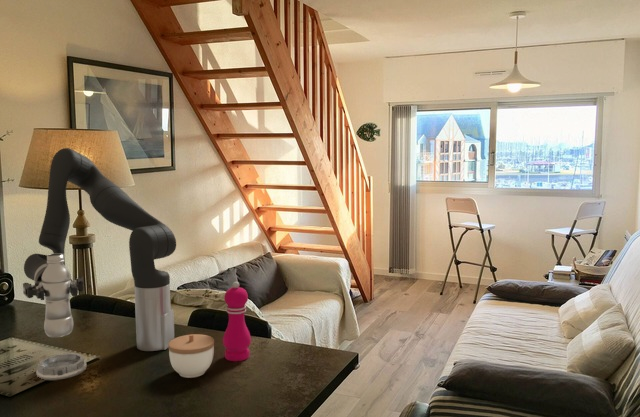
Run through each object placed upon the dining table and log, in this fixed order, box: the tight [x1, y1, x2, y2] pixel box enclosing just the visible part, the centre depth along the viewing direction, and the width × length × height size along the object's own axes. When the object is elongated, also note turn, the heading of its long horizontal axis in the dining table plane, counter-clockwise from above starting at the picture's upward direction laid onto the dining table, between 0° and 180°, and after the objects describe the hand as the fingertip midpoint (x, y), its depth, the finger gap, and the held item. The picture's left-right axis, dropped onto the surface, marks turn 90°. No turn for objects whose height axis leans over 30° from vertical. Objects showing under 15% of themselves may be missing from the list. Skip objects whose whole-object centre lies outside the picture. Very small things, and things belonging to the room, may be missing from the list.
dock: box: [35, 352, 87, 381], centre depth 129 cm, size 11×11×2 cm
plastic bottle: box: [42, 253, 74, 338], centre depth 127 cm, size 6×7×20 cm
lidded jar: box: [167, 333, 215, 379], centre depth 127 cm, size 11×11×9 cm
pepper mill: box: [222, 281, 252, 362], centre depth 137 cm, size 7×7×20 cm
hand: (58, 293), depth 125 cm, fingers closed on plastic bottle, 6 cm apart
